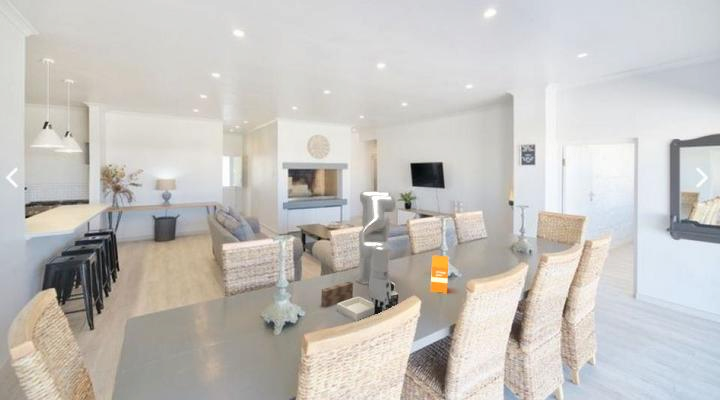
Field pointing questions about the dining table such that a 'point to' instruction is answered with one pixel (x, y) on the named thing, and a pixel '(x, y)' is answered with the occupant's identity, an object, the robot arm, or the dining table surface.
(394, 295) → the medicine bottle
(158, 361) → the dining table surface
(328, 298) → the backstop wall
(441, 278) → the orange juice
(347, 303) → the white square tray
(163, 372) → the dining table surface
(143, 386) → the dining table surface
